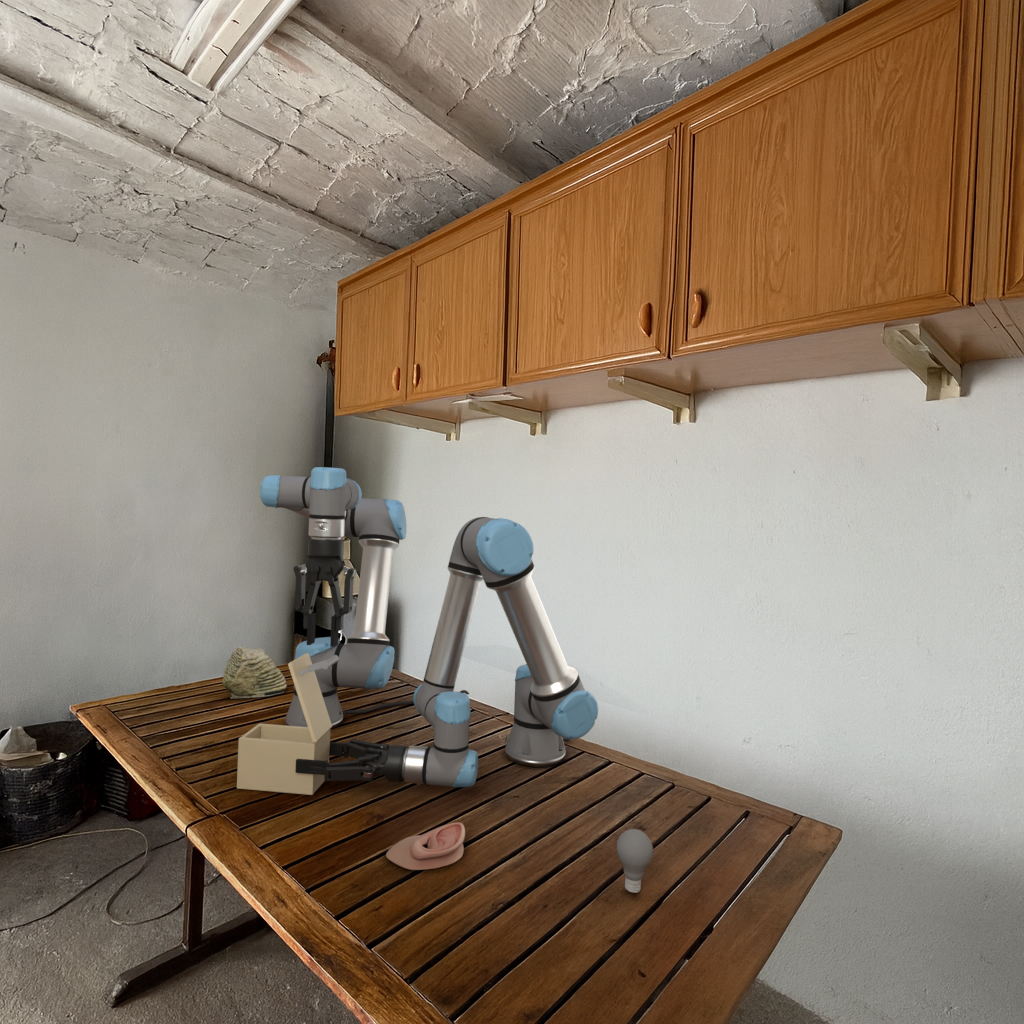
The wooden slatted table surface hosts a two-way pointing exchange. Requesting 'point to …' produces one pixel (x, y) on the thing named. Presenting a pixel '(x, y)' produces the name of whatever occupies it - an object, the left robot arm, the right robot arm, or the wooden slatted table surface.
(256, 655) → the fossil
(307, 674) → the lid
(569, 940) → the wooden slatted table surface
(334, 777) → the right robot arm
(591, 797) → the wooden slatted table surface
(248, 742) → the chest
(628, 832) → the light bulb
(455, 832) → the anatomical model
